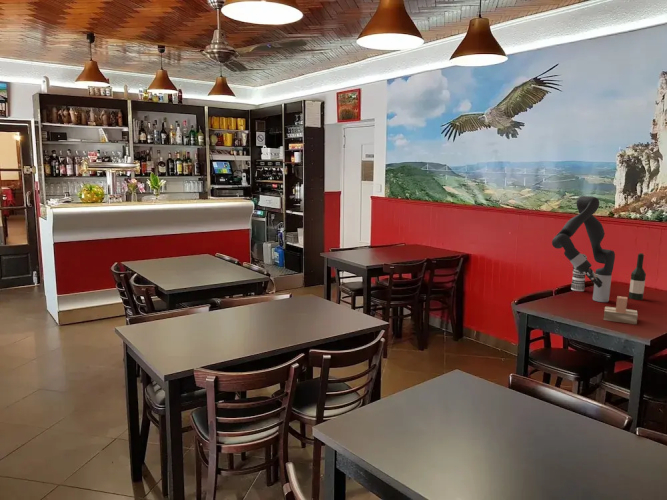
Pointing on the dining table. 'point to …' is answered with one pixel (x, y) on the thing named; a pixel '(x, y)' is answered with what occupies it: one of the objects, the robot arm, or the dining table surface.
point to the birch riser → (620, 315)
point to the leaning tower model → (578, 279)
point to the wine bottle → (637, 280)
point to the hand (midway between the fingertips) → (600, 285)
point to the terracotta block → (621, 304)
